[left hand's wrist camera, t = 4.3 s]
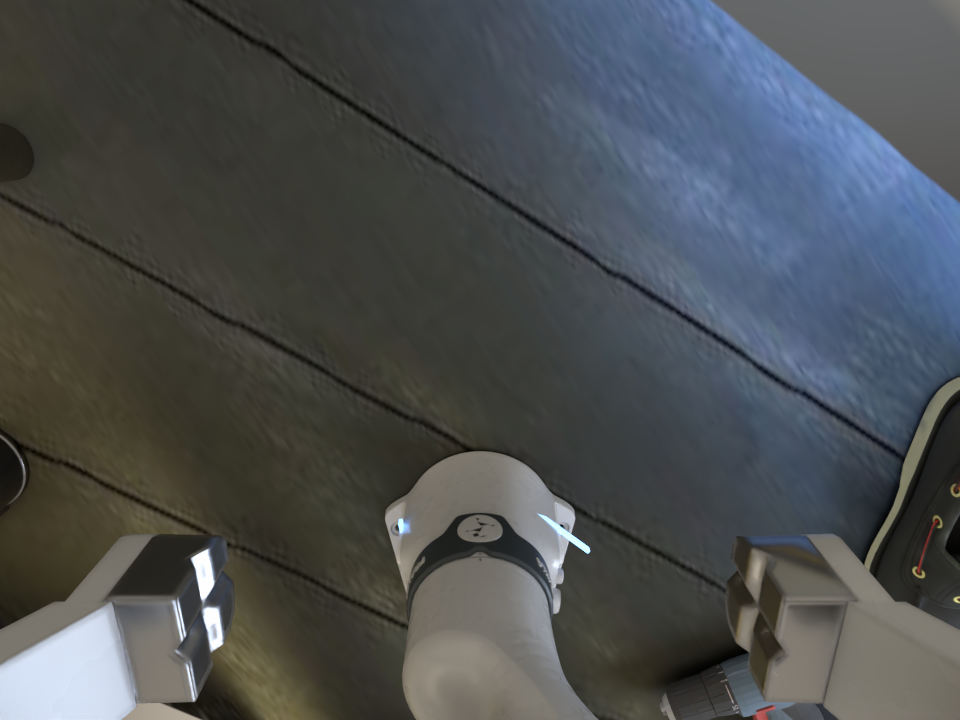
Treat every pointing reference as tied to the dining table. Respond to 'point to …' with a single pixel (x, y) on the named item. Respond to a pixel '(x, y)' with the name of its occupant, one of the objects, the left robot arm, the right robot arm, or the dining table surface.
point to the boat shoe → (926, 517)
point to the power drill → (728, 696)
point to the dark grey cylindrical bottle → (14, 154)
